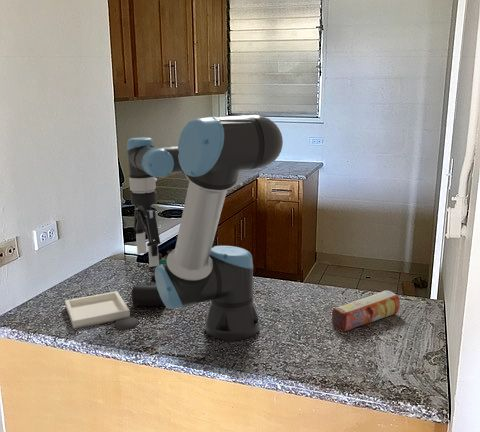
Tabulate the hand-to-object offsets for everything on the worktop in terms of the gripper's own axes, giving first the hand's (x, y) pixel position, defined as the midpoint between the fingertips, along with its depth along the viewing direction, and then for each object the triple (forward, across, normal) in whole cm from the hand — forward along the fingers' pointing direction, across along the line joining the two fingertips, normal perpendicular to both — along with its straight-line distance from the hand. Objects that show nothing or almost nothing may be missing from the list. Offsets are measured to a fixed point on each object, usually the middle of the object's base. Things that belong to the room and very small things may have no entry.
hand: (147, 259), depth 159 cm
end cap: (+15, 0, 0) cm, 15 cm away
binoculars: (+15, +20, -10) cm, 26 cm away
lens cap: (+15, -10, +10) cm, 21 cm away
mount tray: (+15, +2, +16) cm, 22 cm away
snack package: (+16, -40, -52) cm, 67 cm away
